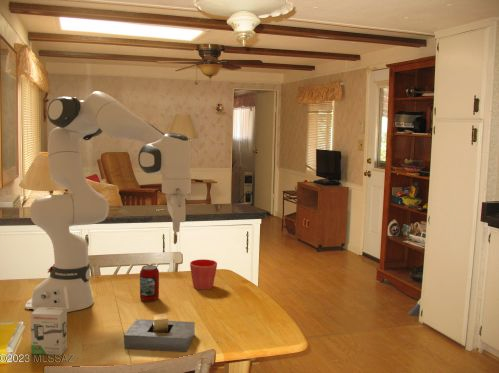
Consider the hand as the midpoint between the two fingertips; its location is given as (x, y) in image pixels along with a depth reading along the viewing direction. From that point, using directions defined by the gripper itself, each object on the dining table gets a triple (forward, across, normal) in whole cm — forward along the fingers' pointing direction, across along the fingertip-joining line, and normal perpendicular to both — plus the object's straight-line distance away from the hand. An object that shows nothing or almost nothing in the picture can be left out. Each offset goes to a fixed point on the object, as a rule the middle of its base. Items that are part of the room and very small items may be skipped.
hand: (176, 231), depth 157 cm
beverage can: (+31, +27, +7) cm, 42 cm away
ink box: (+31, -11, +36) cm, 49 cm away
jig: (+31, -11, +5) cm, 33 cm away
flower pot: (+31, +38, -14) cm, 51 cm away
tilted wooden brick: (+31, -11, +5) cm, 33 cm away
